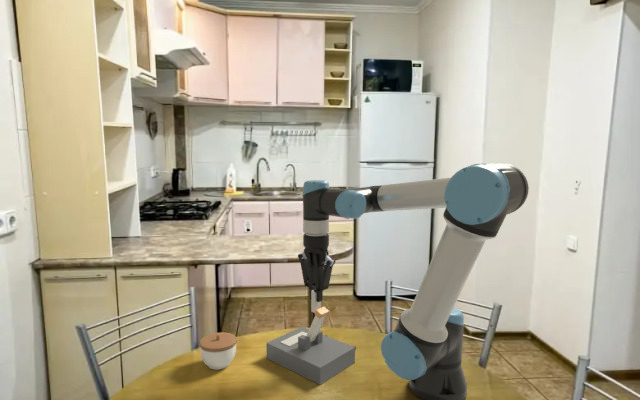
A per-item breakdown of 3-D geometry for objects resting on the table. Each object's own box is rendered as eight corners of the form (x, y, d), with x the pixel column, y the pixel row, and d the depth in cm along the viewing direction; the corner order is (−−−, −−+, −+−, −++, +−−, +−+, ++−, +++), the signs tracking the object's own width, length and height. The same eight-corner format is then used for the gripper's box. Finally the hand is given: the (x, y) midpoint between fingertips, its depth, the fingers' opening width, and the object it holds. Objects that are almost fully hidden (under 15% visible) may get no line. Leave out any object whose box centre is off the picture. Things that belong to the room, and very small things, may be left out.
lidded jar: (228, 375, 120) (227, 344, 119) (193, 371, 123) (192, 341, 121) (242, 357, 131) (241, 328, 130) (210, 354, 133) (209, 325, 132)
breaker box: (354, 362, 128) (355, 336, 127) (320, 384, 116) (320, 355, 115) (302, 340, 142) (302, 316, 141) (266, 358, 130) (266, 332, 129)
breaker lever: (315, 341, 130) (329, 311, 125) (307, 345, 127) (321, 314, 122) (311, 336, 131) (324, 306, 126) (303, 340, 128) (316, 309, 123)
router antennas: (356, 349, 136) (357, 346, 136) (343, 357, 131) (343, 354, 131) (325, 337, 145) (325, 333, 145) (311, 344, 140) (311, 341, 139)
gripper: (341, 234, 121) (341, 312, 124) (308, 228, 130) (308, 302, 133) (324, 238, 116) (324, 320, 119) (291, 232, 124) (291, 309, 127)
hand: (316, 310), depth 126 cm, fingers closed
